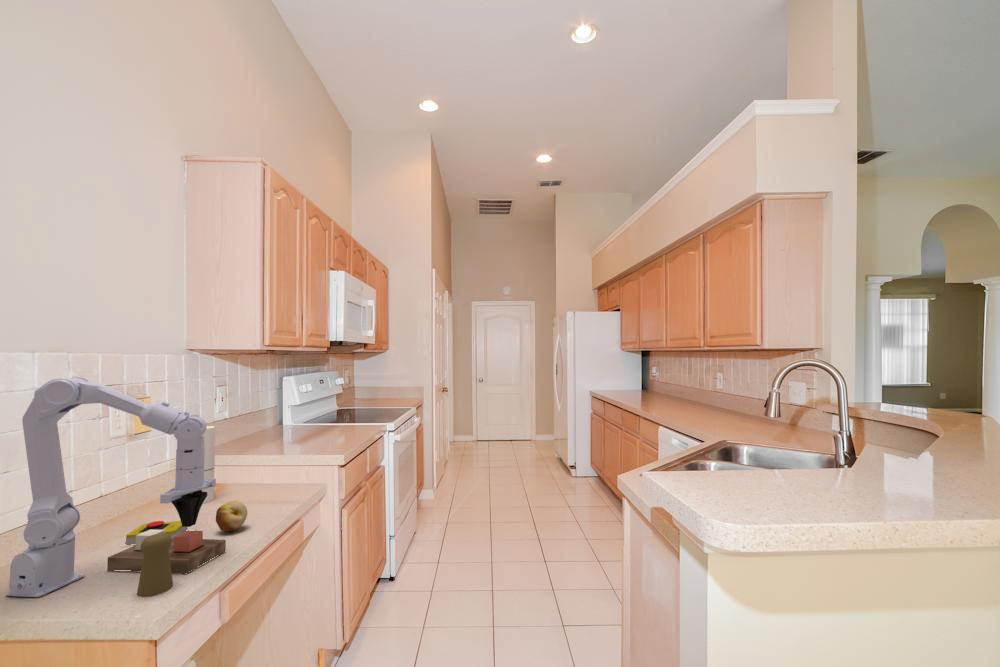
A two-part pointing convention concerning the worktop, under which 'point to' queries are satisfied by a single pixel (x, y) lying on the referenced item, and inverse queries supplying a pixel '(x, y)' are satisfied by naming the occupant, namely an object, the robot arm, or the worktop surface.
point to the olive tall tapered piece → (155, 566)
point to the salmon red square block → (188, 541)
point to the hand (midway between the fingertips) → (188, 525)
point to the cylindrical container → (209, 460)
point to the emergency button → (169, 527)
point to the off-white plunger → (144, 535)
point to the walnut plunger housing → (178, 559)
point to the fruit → (231, 516)
